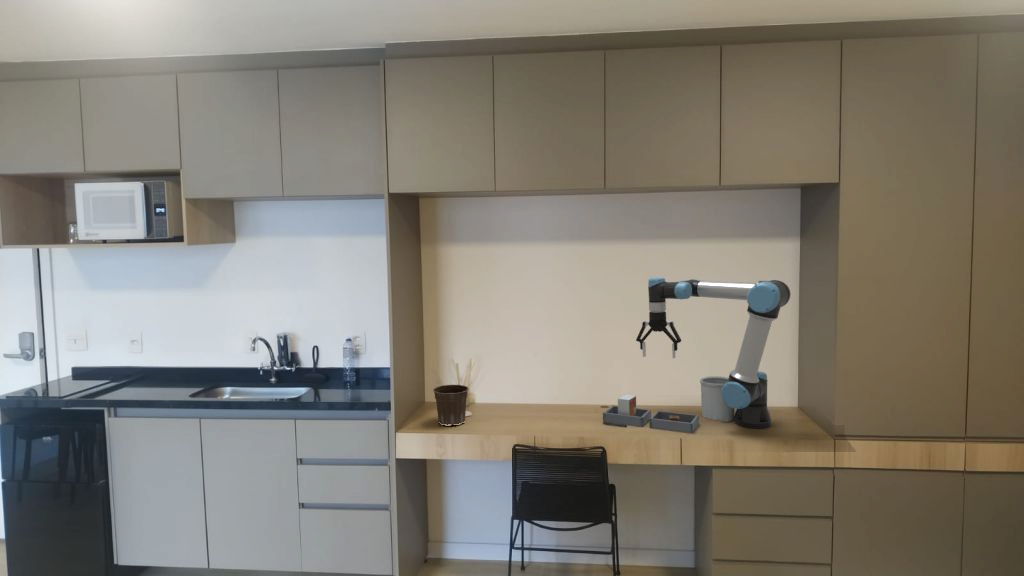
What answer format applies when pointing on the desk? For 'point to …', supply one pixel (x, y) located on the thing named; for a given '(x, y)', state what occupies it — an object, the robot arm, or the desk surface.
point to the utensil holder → (715, 399)
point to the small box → (627, 405)
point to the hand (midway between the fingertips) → (659, 357)
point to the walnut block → (674, 418)
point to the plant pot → (451, 403)
